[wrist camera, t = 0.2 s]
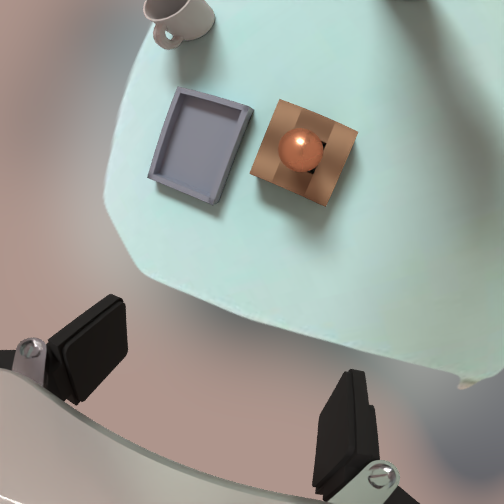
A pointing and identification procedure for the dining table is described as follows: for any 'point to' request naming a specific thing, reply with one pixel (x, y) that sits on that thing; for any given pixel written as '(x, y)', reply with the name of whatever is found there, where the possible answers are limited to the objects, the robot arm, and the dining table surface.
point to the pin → (300, 150)
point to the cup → (178, 20)
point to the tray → (199, 143)
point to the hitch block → (326, 171)
